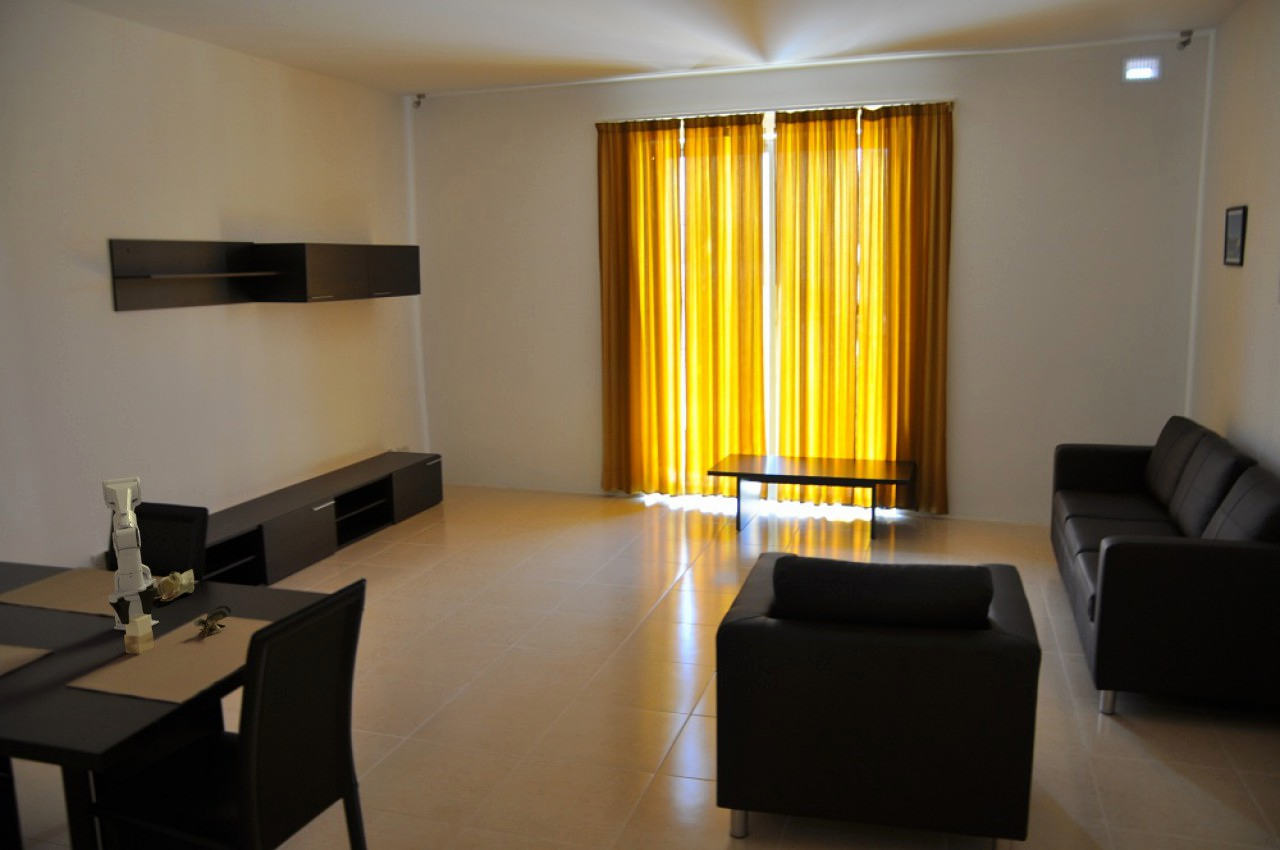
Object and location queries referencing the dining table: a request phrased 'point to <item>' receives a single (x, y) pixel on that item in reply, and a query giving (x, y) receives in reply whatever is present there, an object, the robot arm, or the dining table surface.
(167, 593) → the ceramic sculpture
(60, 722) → the dining table surface
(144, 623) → the cream block
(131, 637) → the oak base block
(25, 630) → the dining table surface
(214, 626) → the eagle figurine
